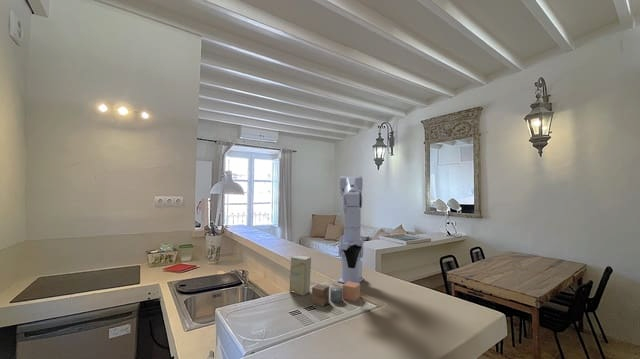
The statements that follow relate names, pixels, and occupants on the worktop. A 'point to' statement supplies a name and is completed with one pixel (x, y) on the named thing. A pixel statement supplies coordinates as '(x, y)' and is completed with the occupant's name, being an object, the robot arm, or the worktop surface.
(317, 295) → the walnut block
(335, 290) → the blue-grey short cylinder
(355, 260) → the robot arm
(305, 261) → the skincare box
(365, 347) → the worktop surface
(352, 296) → the terracotta cube
